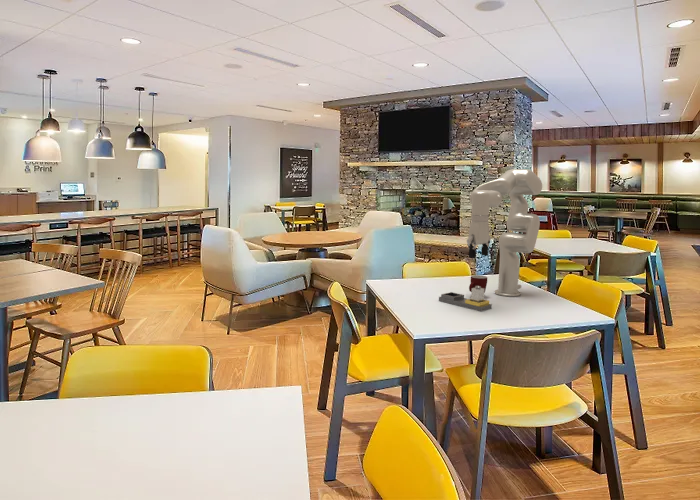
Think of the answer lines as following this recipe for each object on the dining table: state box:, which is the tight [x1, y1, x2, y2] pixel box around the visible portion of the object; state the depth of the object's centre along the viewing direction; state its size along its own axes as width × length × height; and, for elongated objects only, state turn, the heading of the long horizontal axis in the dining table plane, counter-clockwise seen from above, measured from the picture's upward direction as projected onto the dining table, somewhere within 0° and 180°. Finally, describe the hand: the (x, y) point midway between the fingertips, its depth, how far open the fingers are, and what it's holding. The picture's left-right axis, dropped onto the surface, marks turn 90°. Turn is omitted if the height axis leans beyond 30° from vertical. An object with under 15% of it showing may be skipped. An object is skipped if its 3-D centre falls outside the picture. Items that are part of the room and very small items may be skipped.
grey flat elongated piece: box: [438, 291, 493, 312], centre depth 230 cm, size 8×24×4 cm, turn 40°
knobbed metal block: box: [470, 286, 485, 303], centre depth 224 cm, size 4×4×8 cm
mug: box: [468, 275, 488, 294], centre depth 246 cm, size 11×8×10 cm
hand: (478, 256), depth 225 cm, fingers open, 9 cm apart
